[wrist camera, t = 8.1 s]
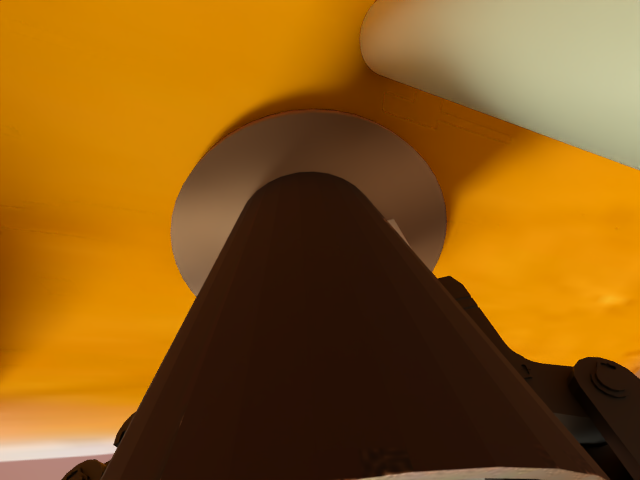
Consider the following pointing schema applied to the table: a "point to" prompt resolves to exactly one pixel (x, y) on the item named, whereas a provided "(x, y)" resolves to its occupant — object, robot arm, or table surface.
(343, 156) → the walnut base
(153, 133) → the table surface
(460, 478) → the coffee mug
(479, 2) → the dowel
